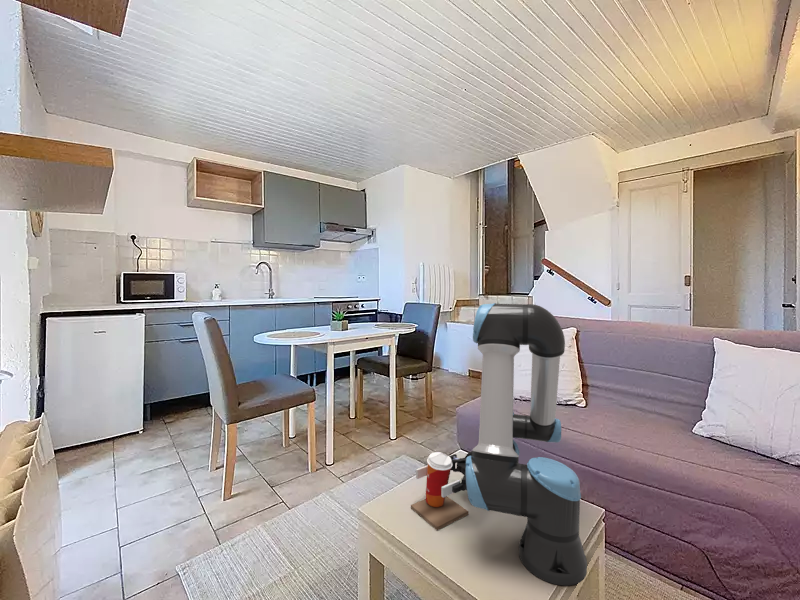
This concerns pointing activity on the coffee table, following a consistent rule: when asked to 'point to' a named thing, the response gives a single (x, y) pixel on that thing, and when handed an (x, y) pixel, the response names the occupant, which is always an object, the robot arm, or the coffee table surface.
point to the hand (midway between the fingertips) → (428, 482)
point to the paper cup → (437, 477)
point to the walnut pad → (440, 512)
